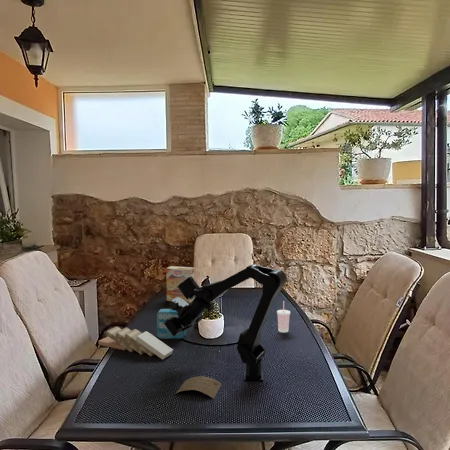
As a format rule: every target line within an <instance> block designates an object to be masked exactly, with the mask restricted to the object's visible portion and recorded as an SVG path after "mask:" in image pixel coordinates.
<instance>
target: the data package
mask: <svg viewBox="0 0 450 450" xmlns="http://www.w3.org/2000/svg"><path fill="white" fill-rule="evenodd" d="M177 313H178V312H177V311H175V310H174V311H173V310H172V309H171V308H160V309H159V310H158V312H157V314H156V330H157V333H156V334H157V335H156V336H157V338H158V339H168V340H170V339H174V340H175V339H177V340H179V339H180V340H181V339H184V338H185V337H186V333H187V332H186V331H187V329H186V330H184V331H183V332H180V333H179V334H177V335H176V336H173V335H172V334H171V332H170V331H169V330H168V328H167V327H166V326H165V325H164V322H165V321H166V320H167V319H169V318H171V317H177V318H178V317H179V316H178V315H177Z"/></svg>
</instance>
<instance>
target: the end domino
mask: <svg viewBox="0 0 450 450" xmlns="http://www.w3.org/2000/svg"><path fill="white" fill-rule="evenodd" d="M98 345H99V346H104V347H108V348H112V349H117V350H122V351H126V350H127V349H126V348H124V347H123V346H121V345H120V344H118V343H117V342H115V341H114V340H113V339H111V338H110V337H108V336H106V337H104V338H102V339H100V340H98Z"/></svg>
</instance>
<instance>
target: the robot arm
mask: <svg viewBox="0 0 450 450" xmlns="http://www.w3.org/2000/svg"><path fill="white" fill-rule="evenodd" d="M249 279H253V280H254V281H255V282H257V283H258V284H261V285H262V287H261V290H262V291H261V293H262V294H261V297H260V299H259V303H258V304H257V307H256V309H255V311H254V313H253V317H252V319H251V322H250V325H249V327H248V328H246V329H244V330H243V331H242V332H241V333H240V334H239V336H238V337H239V338H238V340H237V341H236V342H235V343H236V350H237V353H238V354H239V356H240V359H241V362H242V364H244V369H245V370H244V371H243V378H244V379H243V380H244V381H245V382H246V381H248V382H251V381H253V382H263V381H264V373H263V371H262V370H263V368H262V367H263V365H262V364H263V361H262V359H263V357H265V356H266V355H265V354H266V351H267V350H265V348H264V347H263V346H262V345H261V339H262V335H261V334H262V330H263V328H264V325H265V323H266V320H267V318H268V315H269V313H270V311H271V308H272V306H273V304H274V301H275V299H276V297H277V296H278V295H279V293H280V292H281V290H282V289H283V288H284V286H285V285H286V283H287V279H288V277H287V275H286V273H285V272H284V270H282V269H273V268H271V267H265V266H261V265H258V264H255V263H253V264H250V265H248V266H246V267H245V268H244V269H241V270H240V271H239V272H236V273H234V274H232V275H231V276H229V277H227V278H225V279H222V280H219V281H218V280H217V281H216V282H212V283H210V284H207V285H201V286H200V285H199V284H198V283H197V282H196V280H195V278H194V279H193V278H192V276H191V277H188V278H187V279H186V280H184V281H183V282H182V283H180V284H179V285H178V287H177V288H178V289H179V290H180V291H181V293H182V294H183V295H184V296H185V298H186V299H187V300H188V299H189V298H190V300H191V299H193V298H194V300H193V301H192V302H191V303H187V302H186V301H184V300H183V299H181V298H180V297H177V298H174V299H172V301H169V303H168V307H169V308H168V309H172V310H173V311H174V310H175V311H177V312H178V313H177V315H178V316H179V317H178V318H177V317H171V318H169V319H167V320H166V321H165V322H164V325H165V326H166V327H167V328H168V330H169V331H170V332H171V334H172V335H173V336H176V335H177V334H179V333H180V332H183V331H184V330H186V331H187V329H188V330H189V329H190V328H191V327H193V324H194V323H196V324H199V323H200V322H201V321H202V320H203V319H204V315H203V313H204V312H205V311H206V310H207V312H209V313H210V312H211V311H213V310H215V305H214V304H215V303H214V302H213V301H215V300H218V299H219V298H220V297H222V296H223V295H224V294H226V292H227V291H229V290H230V289H231V288H234V287H235V286H237V285H240V284H241V283H243V282H245V281H247V280H249Z"/></svg>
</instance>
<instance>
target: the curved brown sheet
mask: <svg viewBox="0 0 450 450" xmlns="http://www.w3.org/2000/svg"><path fill="white" fill-rule="evenodd" d="M222 385H223V384H222V383H221V382H220V381H219V380H216V379H214V378H212V377H208V376H202V375H201V376H199V375H198V376H194V377H190V378H188V379H186V380H184V382H183V383H182V384H181V386H180V387H179V389H178V390H177V392H176V394H178V393H180V392H184V391H191V390H192V391H198V392H200V393H202V394H204V395H207V396H209V397H210V398H212V399H215V397H216V396H217V393H218V391H219V390H220V388H221V387H222Z"/></svg>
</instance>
